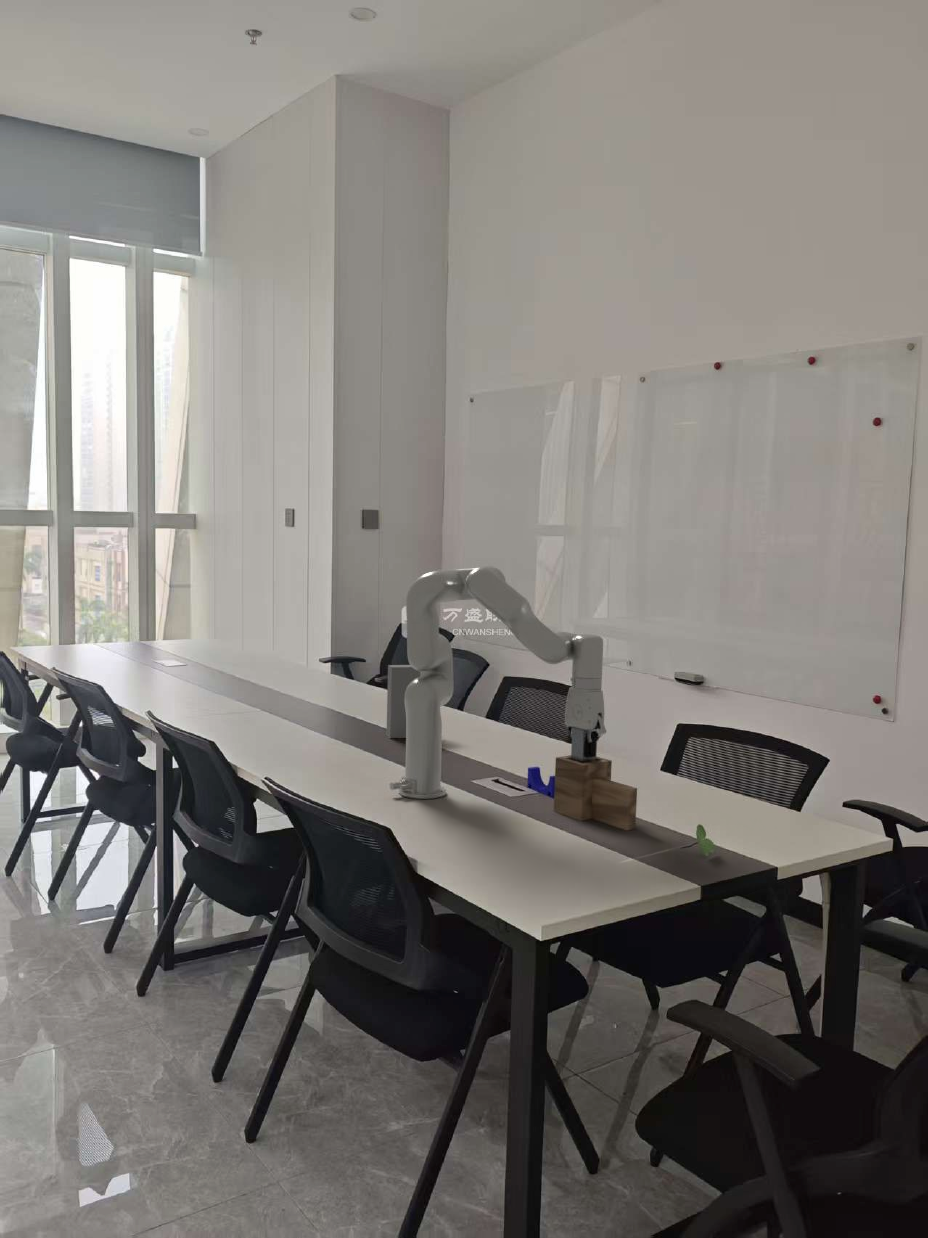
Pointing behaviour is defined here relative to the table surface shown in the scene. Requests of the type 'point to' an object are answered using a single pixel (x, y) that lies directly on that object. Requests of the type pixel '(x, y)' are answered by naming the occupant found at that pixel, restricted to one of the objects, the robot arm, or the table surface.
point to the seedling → (703, 841)
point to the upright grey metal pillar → (580, 746)
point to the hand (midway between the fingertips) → (583, 754)
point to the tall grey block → (398, 698)
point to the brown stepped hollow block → (593, 793)
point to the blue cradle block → (540, 782)
